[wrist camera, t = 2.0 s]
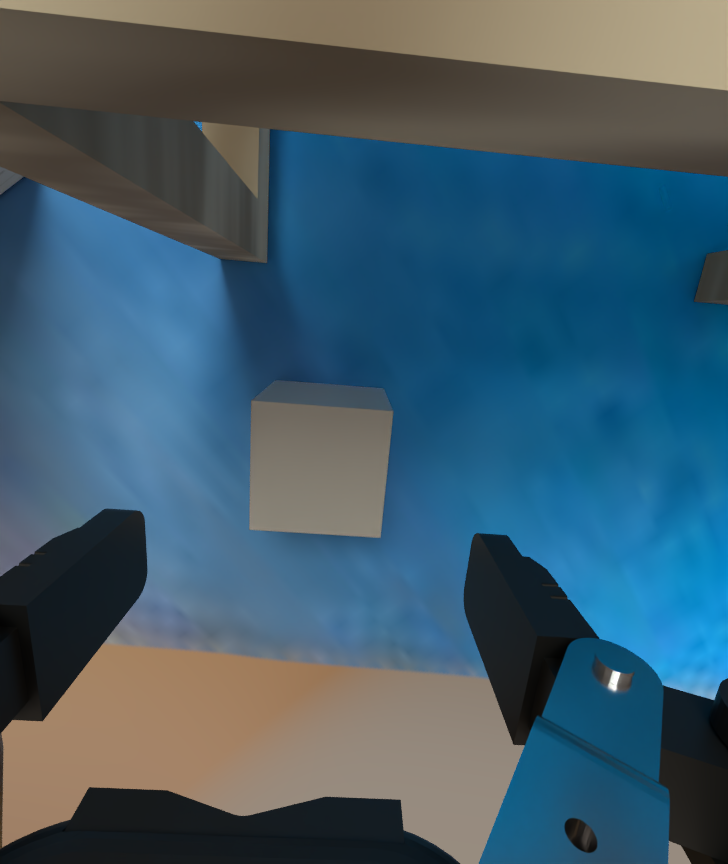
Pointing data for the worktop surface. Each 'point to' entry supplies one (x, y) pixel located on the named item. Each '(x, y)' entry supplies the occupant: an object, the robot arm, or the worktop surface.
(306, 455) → the cube
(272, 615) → the worktop surface
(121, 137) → the frame
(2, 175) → the supplement box
